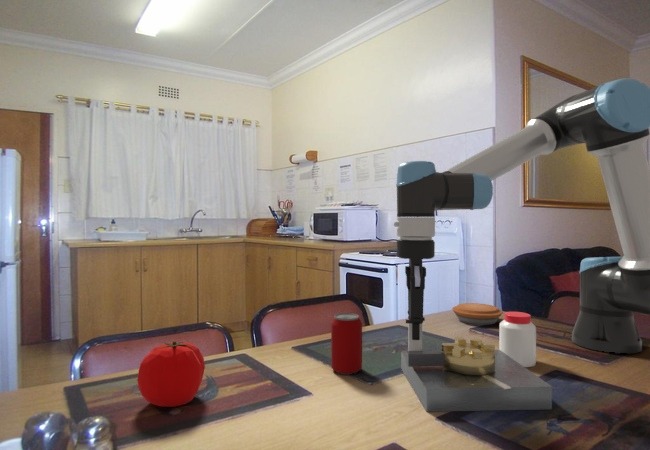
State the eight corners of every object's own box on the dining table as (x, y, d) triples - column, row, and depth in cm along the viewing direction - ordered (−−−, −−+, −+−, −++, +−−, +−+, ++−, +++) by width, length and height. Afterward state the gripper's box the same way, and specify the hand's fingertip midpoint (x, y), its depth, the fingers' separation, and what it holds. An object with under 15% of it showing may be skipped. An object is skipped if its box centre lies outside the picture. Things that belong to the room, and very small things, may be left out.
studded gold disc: (482, 356, 87) (482, 336, 87) (504, 374, 77) (504, 351, 77) (401, 357, 86) (401, 337, 86) (413, 375, 76) (413, 353, 76)
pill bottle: (540, 368, 92) (540, 318, 92) (503, 366, 94) (503, 317, 93) (530, 356, 100) (530, 311, 99) (496, 354, 101) (496, 309, 101)
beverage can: (366, 367, 93) (366, 313, 93) (355, 378, 87) (355, 320, 86) (338, 363, 96) (338, 311, 95) (326, 373, 89) (326, 317, 89)
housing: (499, 367, 92) (499, 349, 92) (554, 411, 72) (554, 387, 71) (401, 369, 92) (401, 350, 91) (427, 413, 71) (427, 389, 71)
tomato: (165, 423, 68) (164, 355, 68) (123, 406, 74) (123, 344, 74) (219, 396, 78) (219, 337, 78) (179, 383, 84) (178, 328, 84)
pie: (455, 326, 128) (455, 310, 128) (449, 314, 144) (449, 300, 144) (508, 328, 126) (508, 311, 126) (496, 316, 141) (496, 301, 141)
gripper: (396, 236, 91) (395, 343, 92) (397, 240, 79) (397, 364, 79) (431, 237, 90) (430, 345, 91) (438, 240, 77) (437, 366, 78)
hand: (415, 353), depth 85 cm, fingers closed
